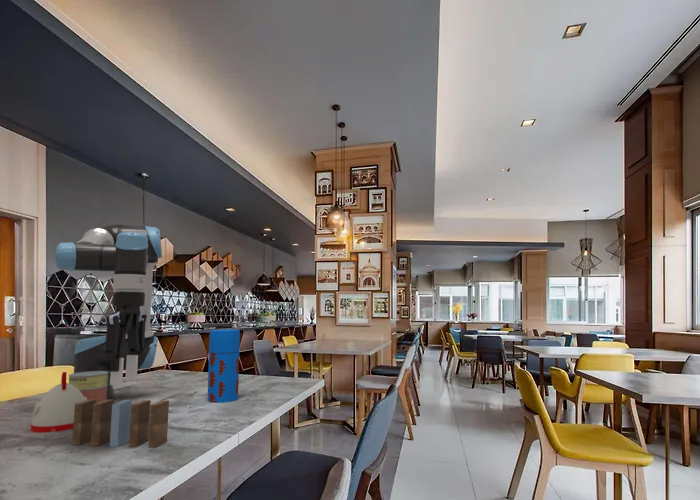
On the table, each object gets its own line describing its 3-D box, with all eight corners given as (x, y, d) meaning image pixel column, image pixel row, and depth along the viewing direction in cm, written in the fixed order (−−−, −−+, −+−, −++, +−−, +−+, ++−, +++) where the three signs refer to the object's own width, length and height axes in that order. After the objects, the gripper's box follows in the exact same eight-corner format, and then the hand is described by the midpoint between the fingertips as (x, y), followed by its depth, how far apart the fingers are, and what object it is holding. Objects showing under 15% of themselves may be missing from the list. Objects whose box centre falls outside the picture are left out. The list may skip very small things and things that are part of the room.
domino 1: (71, 445, 104) (74, 403, 105) (86, 439, 109) (89, 399, 110) (79, 445, 103) (82, 403, 105) (93, 439, 108) (96, 399, 110)
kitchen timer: (86, 416, 131) (89, 367, 133) (90, 426, 120) (94, 373, 122) (30, 424, 123) (35, 372, 125) (30, 436, 112) (35, 378, 114)
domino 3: (109, 446, 103) (112, 404, 104) (122, 440, 108) (124, 399, 109) (117, 446, 102) (119, 404, 104) (129, 440, 107) (132, 399, 109)
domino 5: (148, 447, 102) (150, 404, 103) (159, 441, 107) (161, 400, 108) (156, 447, 101) (158, 405, 103) (166, 441, 106) (168, 400, 108)
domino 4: (128, 447, 102) (131, 404, 103) (140, 440, 107) (143, 400, 108) (136, 447, 102) (138, 404, 103) (148, 440, 107) (150, 400, 108)
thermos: (226, 395, 161) (228, 329, 165) (244, 398, 155) (245, 329, 158) (201, 400, 153) (204, 330, 156) (218, 404, 146) (220, 331, 150)
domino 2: (90, 446, 103) (93, 403, 104) (104, 439, 108) (107, 399, 109) (98, 446, 103) (101, 404, 104) (111, 439, 108) (114, 399, 109)
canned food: (58, 412, 136) (61, 374, 138) (93, 405, 146) (95, 370, 148) (78, 416, 131) (81, 377, 133) (113, 408, 141) (115, 372, 143)
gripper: (120, 289, 101) (113, 390, 98) (161, 292, 119) (157, 376, 116) (91, 290, 101) (83, 389, 98) (136, 292, 119) (131, 376, 116)
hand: (123, 382), depth 107 cm, fingers open, 5 cm apart
